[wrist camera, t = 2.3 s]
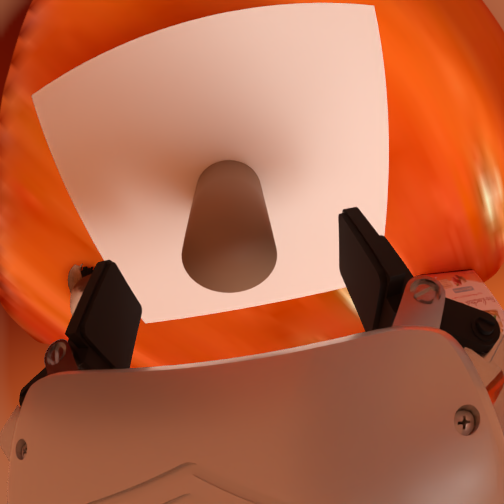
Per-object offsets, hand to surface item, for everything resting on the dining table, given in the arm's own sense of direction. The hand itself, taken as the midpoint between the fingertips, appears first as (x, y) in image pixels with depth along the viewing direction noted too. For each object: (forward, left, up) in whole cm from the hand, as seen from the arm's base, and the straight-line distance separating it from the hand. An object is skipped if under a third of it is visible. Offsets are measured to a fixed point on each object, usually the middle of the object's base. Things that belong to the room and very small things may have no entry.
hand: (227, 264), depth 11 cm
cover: (0, 0, -17) cm, 17 cm away
